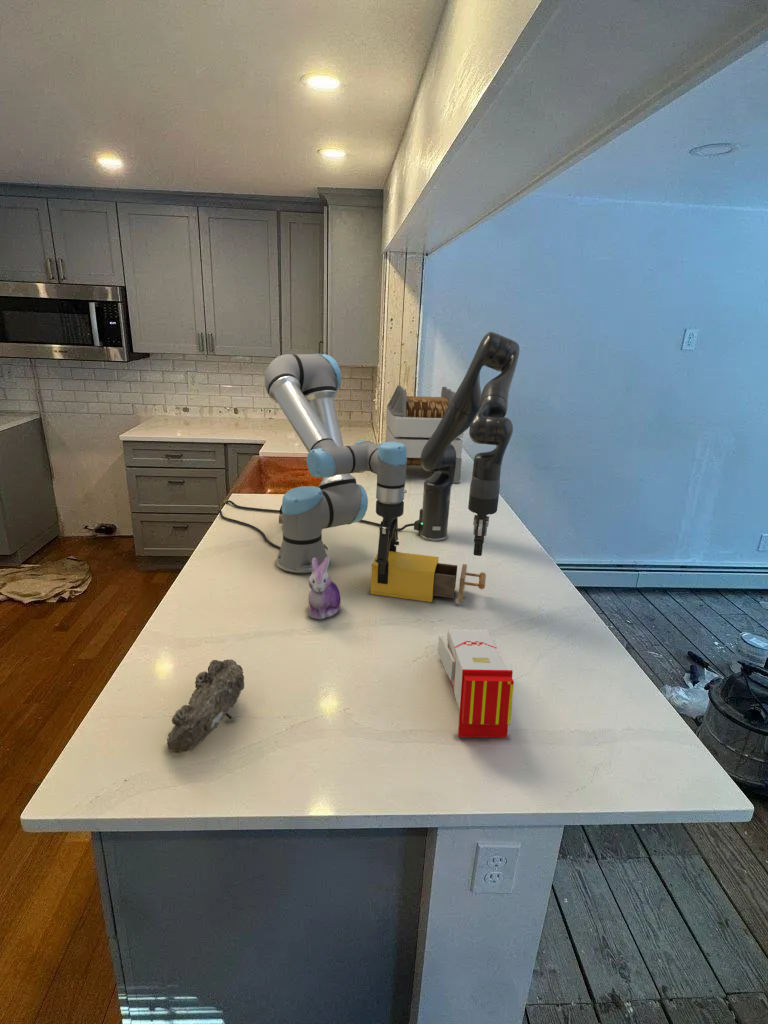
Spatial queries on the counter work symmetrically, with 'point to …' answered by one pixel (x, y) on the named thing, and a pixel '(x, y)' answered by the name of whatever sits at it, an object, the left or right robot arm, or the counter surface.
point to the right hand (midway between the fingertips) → (477, 554)
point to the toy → (478, 682)
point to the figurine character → (280, 516)
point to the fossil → (206, 705)
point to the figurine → (322, 591)
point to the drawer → (453, 580)
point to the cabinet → (406, 576)
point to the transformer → (418, 424)
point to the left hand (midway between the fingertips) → (386, 574)
